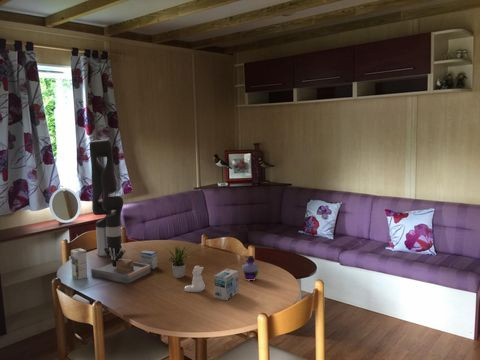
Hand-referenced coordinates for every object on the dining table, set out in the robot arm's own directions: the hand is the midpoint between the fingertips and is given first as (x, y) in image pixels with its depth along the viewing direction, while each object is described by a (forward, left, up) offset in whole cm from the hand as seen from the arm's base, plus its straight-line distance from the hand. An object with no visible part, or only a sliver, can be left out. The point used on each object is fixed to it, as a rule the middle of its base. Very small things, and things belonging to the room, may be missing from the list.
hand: (115, 266), depth 229 cm
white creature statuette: (+1, +51, -4) cm, 51 cm away
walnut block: (0, +6, -1) cm, 6 cm away
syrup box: (+13, -12, -4) cm, 18 cm away
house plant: (-11, +34, -4) cm, 36 cm away
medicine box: (-15, +10, -4) cm, 19 cm away
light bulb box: (+1, +67, -4) cm, 67 cm away
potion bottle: (-22, +68, -4) cm, 71 cm away
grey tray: (0, +4, -4) cm, 5 cm away
